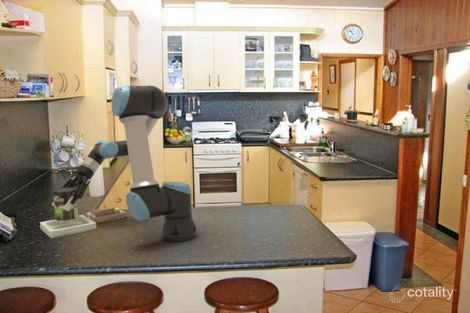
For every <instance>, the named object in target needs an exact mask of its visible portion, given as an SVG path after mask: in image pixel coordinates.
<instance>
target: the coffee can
mask: <svg viewBox="0 0 470 313" xmlns="http://www.w3.org/2000/svg"><path fill="white" fill-rule="evenodd" d="M75 190H76V187H74V188H73V187H65V188H61V187H60V188H56V189H55V188H54V189H53V190H52V196H53V202H54V206H53V207H54V220H55V221H56V222H70V221H74V220H77V219H78V218H79V217H78V216H79V210H78V209H79V208H78V199H77V200H76V202H75V203H74V204H73V206H72V207H71V209H70V210H69V211H67V210H65V209H64V206H65V205H66V204H67V202H68V201H69V199H70V198H71V197H72V196H73V194H74V193H75ZM73 197H74V196H73Z"/></svg>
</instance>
